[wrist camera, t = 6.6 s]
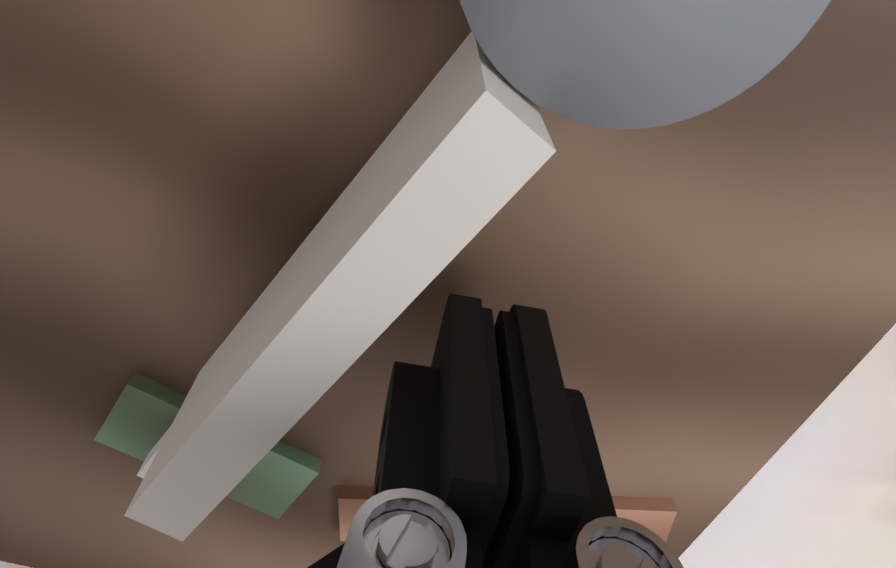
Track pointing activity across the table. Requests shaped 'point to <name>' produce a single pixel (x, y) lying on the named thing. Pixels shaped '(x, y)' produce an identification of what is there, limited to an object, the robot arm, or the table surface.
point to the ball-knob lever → (447, 204)
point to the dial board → (470, 274)
